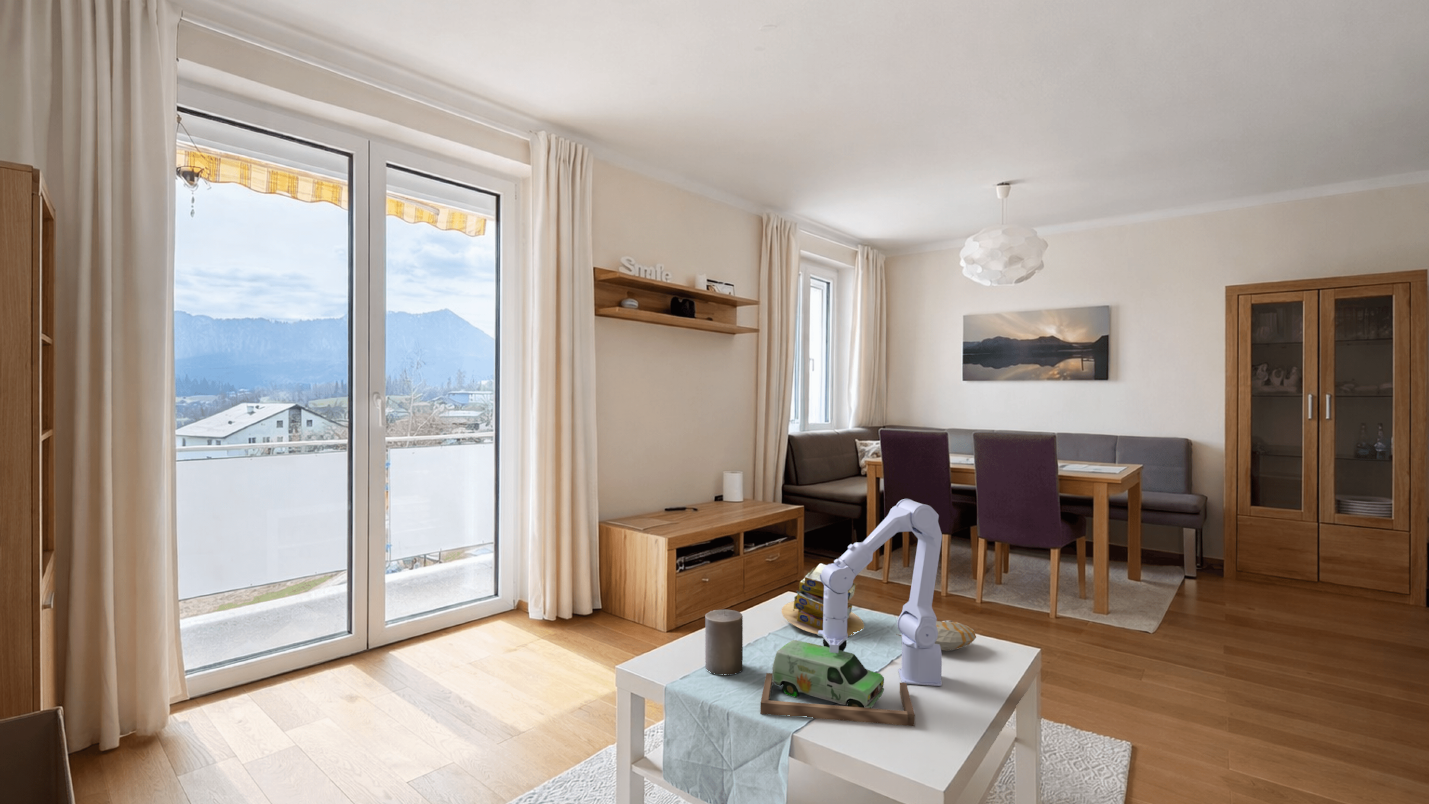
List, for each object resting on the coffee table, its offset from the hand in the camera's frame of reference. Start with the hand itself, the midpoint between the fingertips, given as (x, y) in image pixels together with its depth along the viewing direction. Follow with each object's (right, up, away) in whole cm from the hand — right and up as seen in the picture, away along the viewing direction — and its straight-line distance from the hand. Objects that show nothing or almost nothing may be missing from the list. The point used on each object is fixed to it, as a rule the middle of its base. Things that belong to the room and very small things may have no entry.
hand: (834, 670), depth 169 cm
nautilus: (+33, -4, +26) cm, 42 cm away
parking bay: (-1, -4, -9) cm, 10 cm away
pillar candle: (-27, -4, +10) cm, 29 cm away
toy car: (-2, -4, -5) cm, 7 cm away
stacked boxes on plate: (+4, -3, +44) cm, 44 cm away
